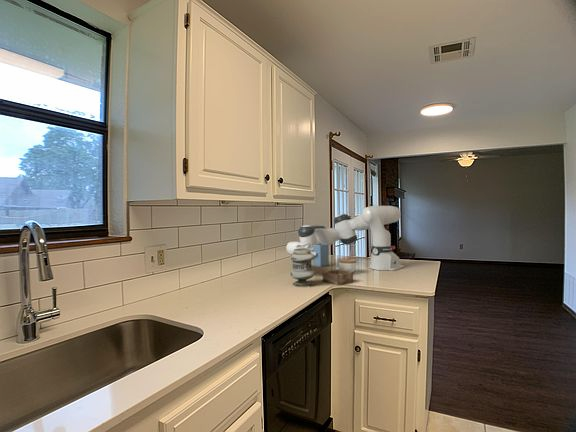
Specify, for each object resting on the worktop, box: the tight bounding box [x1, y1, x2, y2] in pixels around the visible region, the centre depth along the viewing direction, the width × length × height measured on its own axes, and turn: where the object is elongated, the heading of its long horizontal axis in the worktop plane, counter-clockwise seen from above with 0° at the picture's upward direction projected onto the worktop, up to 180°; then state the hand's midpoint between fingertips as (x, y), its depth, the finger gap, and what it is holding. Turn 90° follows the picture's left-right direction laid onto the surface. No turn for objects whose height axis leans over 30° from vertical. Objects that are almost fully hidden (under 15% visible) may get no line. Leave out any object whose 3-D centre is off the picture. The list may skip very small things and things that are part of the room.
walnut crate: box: [322, 268, 354, 286], centre depth 171 cm, size 11×11×5 cm
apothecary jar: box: [289, 248, 315, 288], centre depth 166 cm, size 12×12×18 cm
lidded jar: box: [337, 256, 358, 273], centre depth 192 cm, size 11×11×9 cm
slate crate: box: [312, 243, 330, 268], centre depth 181 cm, size 6×6×12 cm
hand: (321, 253), depth 180 cm, fingers closed on slate crate, 6 cm apart
